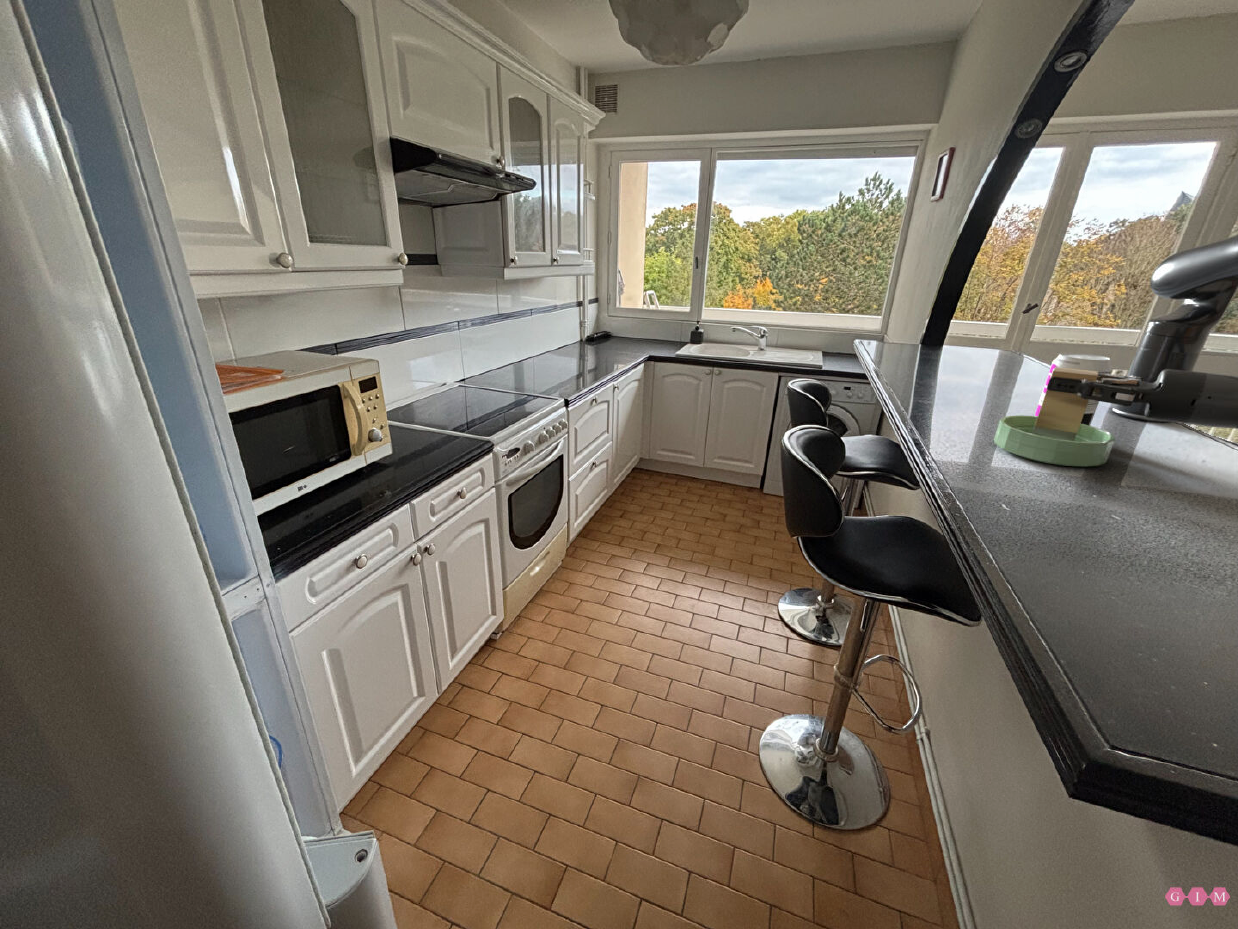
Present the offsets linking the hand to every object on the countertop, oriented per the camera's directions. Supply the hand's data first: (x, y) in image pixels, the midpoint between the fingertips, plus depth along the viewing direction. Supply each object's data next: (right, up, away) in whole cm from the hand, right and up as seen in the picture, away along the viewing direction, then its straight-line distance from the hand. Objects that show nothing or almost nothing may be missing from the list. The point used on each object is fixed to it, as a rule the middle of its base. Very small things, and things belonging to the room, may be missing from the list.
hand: (1050, 380), depth 85 cm
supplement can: (+11, -9, +12) cm, 19 cm away
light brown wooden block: (+2, -9, +2) cm, 9 cm away
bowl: (+2, -12, +3) cm, 13 cm away
